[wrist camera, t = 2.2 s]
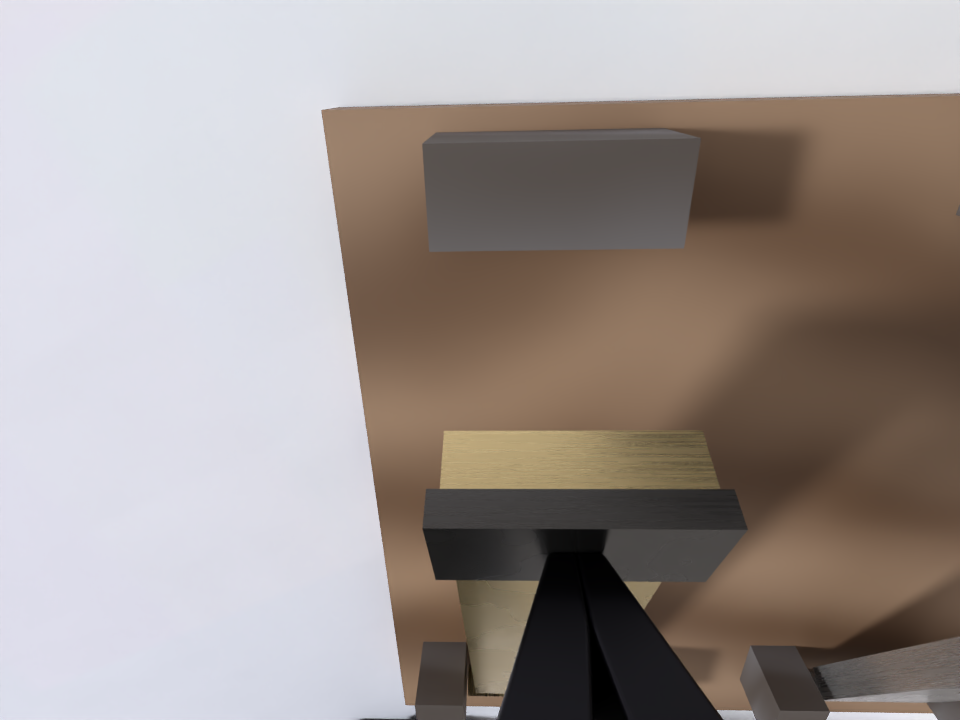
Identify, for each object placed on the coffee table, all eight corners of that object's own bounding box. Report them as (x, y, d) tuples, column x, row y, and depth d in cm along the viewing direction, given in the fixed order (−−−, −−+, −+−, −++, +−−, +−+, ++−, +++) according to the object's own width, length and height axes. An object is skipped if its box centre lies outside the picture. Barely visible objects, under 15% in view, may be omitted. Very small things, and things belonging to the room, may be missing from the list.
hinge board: (934, 676, 22) (1016, 787, 19) (411, 669, 23) (395, 775, 20) (1281, 86, 12) (1595, 87, 9) (339, 107, 13) (281, 116, 10)
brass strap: (591, 669, 20) (596, 719, 19) (469, 667, 20) (468, 717, 19) (722, 430, 8) (754, 530, 7) (424, 430, 8) (415, 528, 7)
